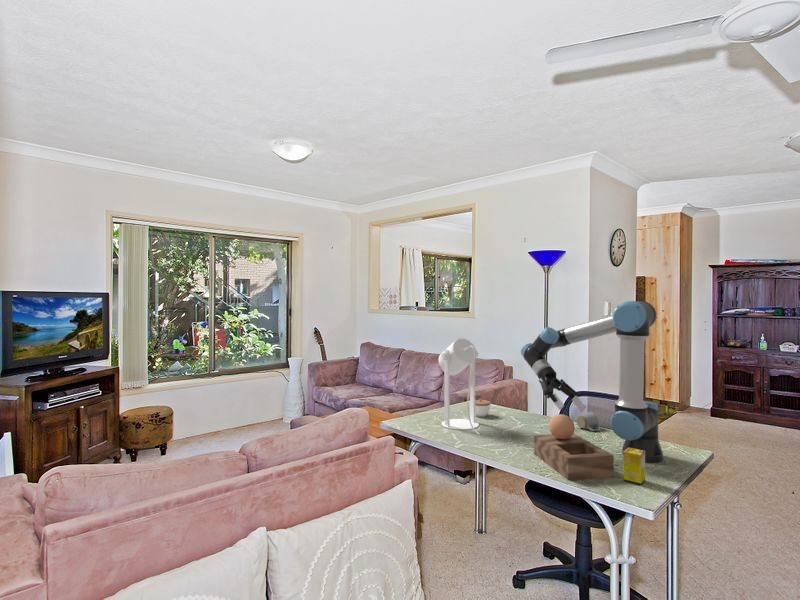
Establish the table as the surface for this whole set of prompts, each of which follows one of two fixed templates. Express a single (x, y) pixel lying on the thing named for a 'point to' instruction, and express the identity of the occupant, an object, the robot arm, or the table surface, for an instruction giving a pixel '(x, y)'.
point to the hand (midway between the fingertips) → (572, 408)
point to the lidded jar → (482, 407)
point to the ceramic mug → (588, 421)
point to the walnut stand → (574, 457)
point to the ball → (561, 426)
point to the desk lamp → (452, 364)
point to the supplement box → (634, 466)
